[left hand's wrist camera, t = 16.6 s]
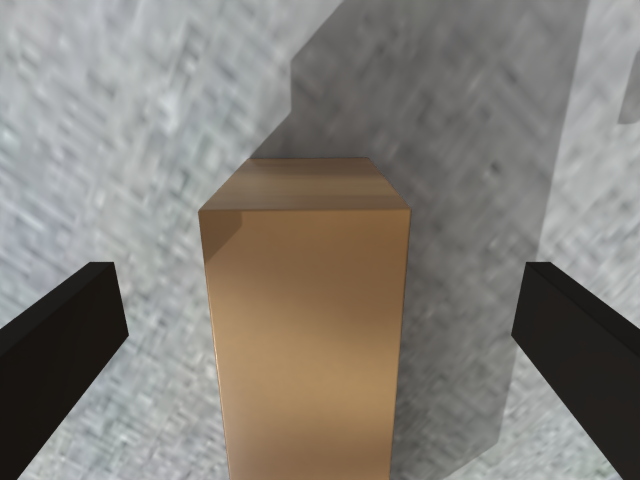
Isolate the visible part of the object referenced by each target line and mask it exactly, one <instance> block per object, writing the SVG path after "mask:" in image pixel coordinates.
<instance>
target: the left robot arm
mask: <svg viewBox="0 0 640 480" xmlns="http://www.w3.org/2000/svg"><path fill="white" fill-rule="evenodd" d="M128 336H129V333H128V328H127V323H126V319H125V314H124V309H123V304H122V299H121V294H120V289H119V284H118V280H117V275H116V270H115V265H114V262H89V263H88V264H86V265H85V266H84V267H82V268H81V269H80V270H78V271H77V272H76V273H74V274H73V275H72V276H70V277H69V278H68V279H66V280H65V281H64V282H62V283H61V284H60V285H58V286H57V287H56V288H54V289H53V290H52V291H50V292H49V293H48V294H46V295H45V296H44V297H42V298H41V299H40V300H38V301H37V302H36V303H34V304H33V305H32V306H30V307H29V308H28V309H26V310H25V311H24V312H22V313H21V314H20V315H18V316H17V317H16V318H14V319H13V320H12V321H11V322H9V323H8V324H7V325H5V326H4V327H3V328H1V329H0V480H17V479H18V478H19V476H20V475H21V474H22V472H23V471H24V470H25V469H26V467H27V466H28V465H29V463H30V462H31V461H32V460H33V458H34V457H35V456H36V454H37V453H38V452H39V451H40V449H41V448H42V447H43V445H44V444H45V443H46V442H47V440H48V439H49V438H50V436H51V435H52V434H53V432H54V431H55V430H56V429H57V427H58V426H59V425H60V423H61V422H62V421H63V420H64V418H65V417H66V416H67V414H68V413H69V412H70V411H71V409H72V408H73V407H74V405H75V404H76V403H77V402H78V400H79V399H80V398H81V396H82V395H83V394H84V393H85V391H86V390H87V389H88V387H89V386H90V385H91V384H92V382H93V381H94V380H95V378H96V377H97V376H98V375H99V373H100V372H101V371H102V369H103V368H104V367H105V366H106V364H107V363H108V362H109V360H110V359H111V358H112V356H113V355H114V354H115V353H116V351H117V350H118V349H119V347H120V346H121V345H122V344H123V342H124V341H125V340H126V338H127V337H128ZM511 336H512V337H513V338H514V340H515V341H516V342H517V344H518V345H519V346H520V347H521V349H522V350H523V351H524V353H525V354H526V355H527V356H528V358H529V359H530V360H531V362H532V363H533V364H534V366H535V367H536V368H537V369H538V371H539V372H540V373H541V375H542V376H543V377H544V378H545V380H546V381H547V382H548V384H549V385H550V386H551V387H552V389H553V390H554V391H555V393H556V394H557V395H558V396H559V398H560V399H561V400H562V402H563V403H564V404H565V405H566V407H567V408H568V409H569V411H570V412H571V413H572V414H573V416H574V417H575V418H576V420H577V421H578V422H579V423H580V425H581V426H582V427H583V429H584V430H585V431H586V432H587V434H588V435H589V436H590V438H591V439H592V440H593V442H594V443H595V444H596V445H597V447H598V448H599V449H600V451H601V452H602V453H603V454H604V456H605V457H606V458H607V460H608V461H609V462H610V463H611V465H612V466H613V467H614V469H615V470H616V471H617V472H618V474H619V475H620V476H621V478H622V479H623V480H640V329H639V328H637V327H636V326H635V325H633V324H632V323H631V322H629V321H628V320H627V319H626V318H624V317H623V316H622V315H620V314H619V313H618V312H616V311H615V310H614V309H612V308H611V307H610V306H608V305H607V304H606V303H604V302H603V301H602V300H600V299H599V298H598V297H596V296H595V295H594V294H592V293H591V292H590V291H588V290H587V289H586V288H584V287H583V286H582V285H580V284H579V283H578V282H576V281H575V280H574V279H572V278H571V277H570V276H568V275H567V274H566V273H564V272H563V271H562V270H560V269H559V268H558V267H556V266H555V265H554V264H552V263H551V262H526V265H525V270H524V275H523V280H522V284H521V289H520V294H519V299H518V304H517V309H516V314H515V319H514V323H513V328H512V333H511Z"/></svg>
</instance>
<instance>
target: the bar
mask: <svg viewBox="0 0 640 480" xmlns="http://www.w3.org/2000/svg"><path fill="white" fill-rule="evenodd" d="M198 216H199V224H200V232H201V241H202V249H203V258H204V266H205V275H206V283H207V291H208V300H209V308H210V317H211V325H212V334H213V342H214V350H215V359H216V367H217V376H218V384H219V392H220V401H221V409H222V418H223V426H224V435H225V443H226V451H227V460H228V468H229V477H230V480H390V468H391V456H392V444H393V431H394V419H395V407H396V394H397V382H398V370H399V357H400V345H401V333H402V320H403V308H404V296H405V283H406V271H407V259H408V246H409V234H410V222H411V208H410V207H409V206H408V204H407V203H406V202H405V201H404V200H403V198H402V197H401V196H400V195H399V194H398V193H397V191H396V190H395V189H394V188H393V187H392V185H391V184H390V183H389V182H388V181H387V180H386V178H385V177H384V176H383V175H382V174H381V172H380V171H379V170H378V169H377V168H376V166H375V165H374V164H373V163H372V162H371V161H370V159H369V158H261V159H247V160H246V161H245V162H244V163H243V164H242V165H241V166H240V167H239V168H238V169H237V170H236V172H235V173H234V174H233V175H232V176H231V177H230V178H229V179H228V180H227V181H226V182H225V183H224V184H223V185H222V186H221V187H220V188H219V189H218V190H217V192H216V193H215V194H214V195H213V196H212V197H211V198H210V199H209V200H208V201H207V202H206V203H205V204H204V205H203V206H202V207H201V208H200V209H199V211H198Z"/></svg>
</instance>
